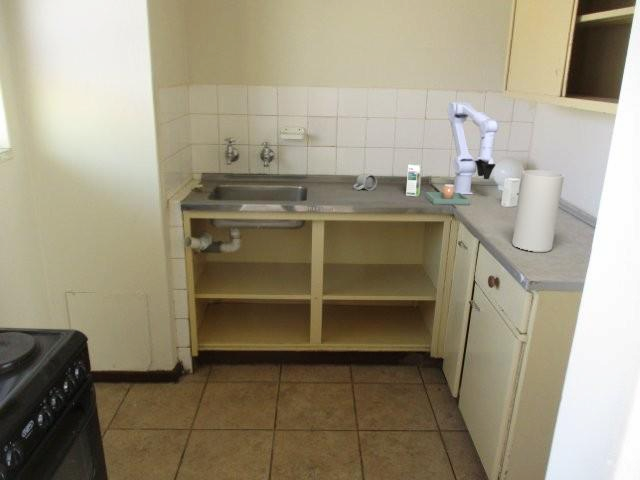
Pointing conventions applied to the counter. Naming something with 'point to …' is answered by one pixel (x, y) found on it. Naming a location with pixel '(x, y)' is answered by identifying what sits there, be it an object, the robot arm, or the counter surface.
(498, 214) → the counter surface
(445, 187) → the salt shaker
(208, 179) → the counter surface
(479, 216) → the counter surface
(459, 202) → the tray
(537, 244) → the cylinder vase
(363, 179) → the ceramic mug
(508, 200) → the skincare box
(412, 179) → the syrup box
